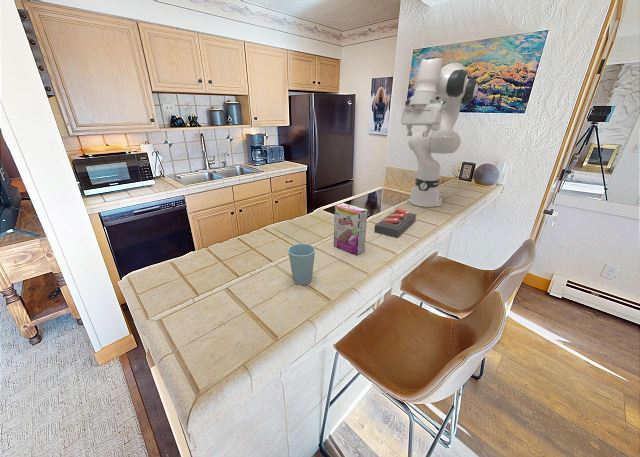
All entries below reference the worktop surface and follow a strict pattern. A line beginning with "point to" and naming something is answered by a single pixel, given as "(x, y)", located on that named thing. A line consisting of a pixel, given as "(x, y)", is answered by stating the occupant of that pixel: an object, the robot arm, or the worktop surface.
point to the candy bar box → (350, 228)
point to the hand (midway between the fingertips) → (416, 136)
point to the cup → (302, 263)
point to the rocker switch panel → (395, 225)
